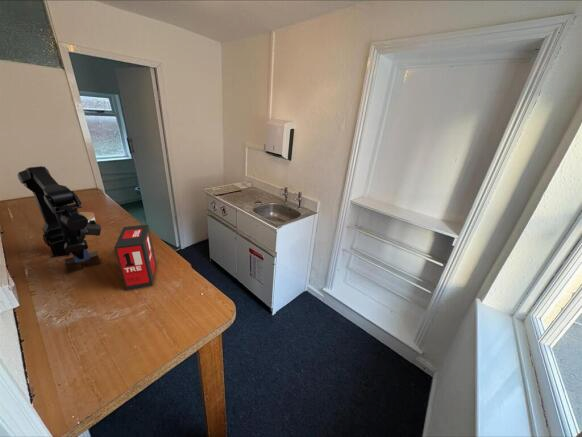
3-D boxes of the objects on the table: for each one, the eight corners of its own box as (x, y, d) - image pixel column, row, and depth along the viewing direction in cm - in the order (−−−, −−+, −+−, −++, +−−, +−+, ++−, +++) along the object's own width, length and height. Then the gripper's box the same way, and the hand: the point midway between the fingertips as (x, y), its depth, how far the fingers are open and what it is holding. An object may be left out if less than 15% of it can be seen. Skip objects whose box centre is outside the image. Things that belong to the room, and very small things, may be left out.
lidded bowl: (69, 238, 121) (62, 219, 116) (68, 229, 129) (62, 211, 125) (99, 232, 129) (94, 214, 124) (97, 224, 137) (92, 206, 132)
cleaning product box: (152, 285, 95) (143, 243, 86) (126, 290, 91) (114, 247, 83) (156, 262, 108) (148, 224, 100) (133, 266, 105) (123, 227, 97)
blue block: (75, 262, 91) (72, 253, 90) (75, 257, 94) (71, 248, 93) (89, 259, 94) (86, 249, 92) (88, 254, 97) (85, 245, 95)
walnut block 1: (68, 272, 98) (64, 263, 96) (67, 267, 101) (64, 258, 99) (81, 268, 101) (78, 260, 99) (81, 263, 104) (78, 255, 102)
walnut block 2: (88, 266, 102) (85, 258, 100) (87, 262, 105) (84, 253, 103) (100, 263, 105) (97, 255, 103) (99, 258, 108) (96, 250, 106)
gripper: (99, 225, 86) (109, 260, 93) (93, 209, 99) (103, 240, 105) (58, 233, 79) (72, 270, 86) (57, 215, 92) (70, 248, 98)
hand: (81, 256), depth 94 cm, fingers closed on blue block, 4 cm apart
